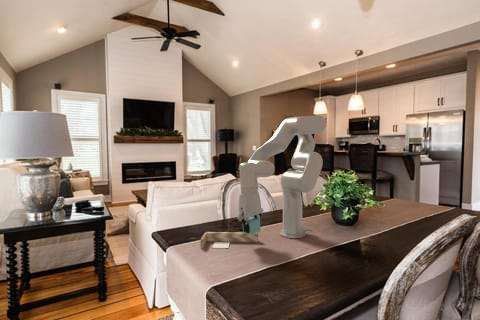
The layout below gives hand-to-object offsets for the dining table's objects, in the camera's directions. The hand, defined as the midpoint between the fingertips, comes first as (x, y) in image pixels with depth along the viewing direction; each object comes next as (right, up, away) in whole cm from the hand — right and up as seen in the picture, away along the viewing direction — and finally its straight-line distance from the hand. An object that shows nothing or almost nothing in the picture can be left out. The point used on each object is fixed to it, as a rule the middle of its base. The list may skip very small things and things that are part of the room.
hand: (251, 230), depth 122 cm
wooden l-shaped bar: (-10, -7, +2) cm, 12 cm away
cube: (0, -1, 0) cm, 1 cm away
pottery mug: (-6, -6, +21) cm, 23 cm away
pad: (-14, -7, +1) cm, 15 cm away
